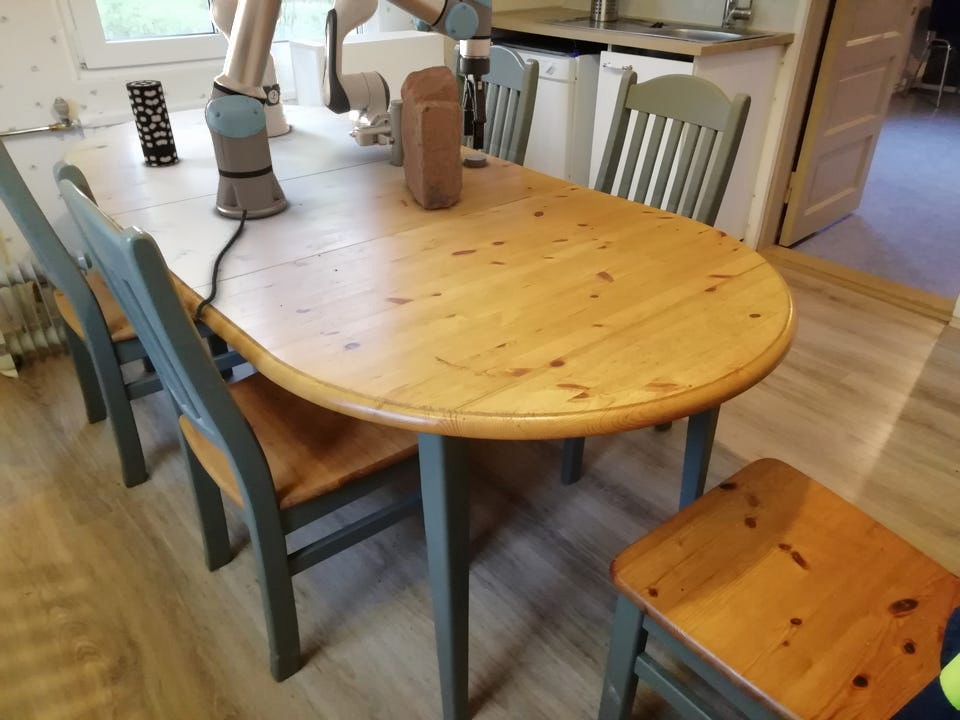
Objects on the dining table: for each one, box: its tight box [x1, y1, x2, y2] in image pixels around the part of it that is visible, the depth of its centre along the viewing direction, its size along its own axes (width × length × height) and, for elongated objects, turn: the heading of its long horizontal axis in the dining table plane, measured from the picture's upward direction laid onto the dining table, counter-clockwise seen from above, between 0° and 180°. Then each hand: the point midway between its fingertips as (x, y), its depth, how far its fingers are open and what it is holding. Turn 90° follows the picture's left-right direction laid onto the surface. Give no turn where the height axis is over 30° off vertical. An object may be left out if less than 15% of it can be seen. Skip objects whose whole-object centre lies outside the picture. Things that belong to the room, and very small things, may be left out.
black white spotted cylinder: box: [125, 79, 179, 167], centre depth 181 cm, size 8×8×20 cm
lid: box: [463, 153, 487, 168], centre depth 188 cm, size 6×6×2 cm
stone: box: [400, 65, 464, 210], centre depth 159 cm, size 22×11×28 cm, turn 18°
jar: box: [389, 98, 405, 167], centre depth 184 cm, size 5×5×16 cm
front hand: (473, 142), depth 185 cm, fingers open, 13 cm apart
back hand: (402, 139), depth 184 cm, fingers closed on jar, 5 cm apart
